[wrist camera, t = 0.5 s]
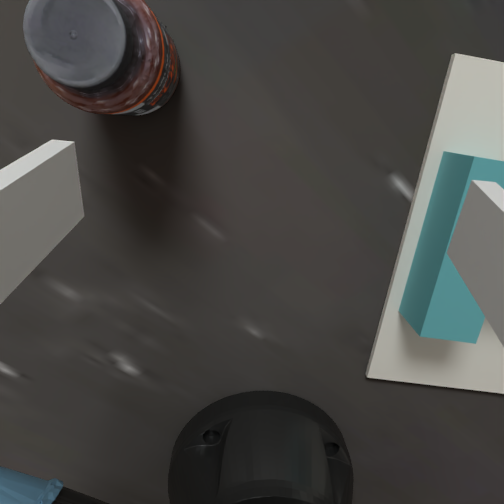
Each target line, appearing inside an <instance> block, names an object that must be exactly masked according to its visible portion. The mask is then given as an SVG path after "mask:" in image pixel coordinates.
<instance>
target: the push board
mask: <svg viewBox="0 0 504 504" xmlns="http://www.w3.org/2000/svg"><path fill="white" fill-rule="evenodd" d="M443 151H446V152H452V153H458V154H464V155H470V156H476V157H482V158H488V159H494V160H500V161H504V62H499V61H493V60H488V59H483V58H477V57H472V56H467V55H461V54H456V53H455V54H452V56H451V59H450V63H449V67H448V70H447V74H446V78H445V81H444V85H443V89H442V93H441V96H440V100H439V104H438V107H437V111H436V115H435V118H434V122H433V126H432V130H431V133H430V137H429V141H428V144H427V148H426V152H425V155H424V159H423V163H422V166H421V170H420V174H419V178H418V181H417V185H416V189H415V192H414V196H413V200H412V203H411V207H410V211H409V215H408V218H407V222H406V226H405V229H404V233H403V237H402V240H401V244H400V248H399V251H398V255H397V259H396V263H395V266H394V270H393V274H392V277H391V281H390V285H389V288H388V292H387V296H386V300H385V303H384V307H383V311H382V314H381V318H380V322H379V325H378V329H377V333H376V337H375V340H374V344H373V348H372V351H371V355H370V359H369V362H368V366H367V370H366V373H365V374H366V376H367V378H375V379H384V380H392V381H401V382H409V383H418V384H426V385H435V386H443V387H451V388H460V389H468V390H477V391H485V392H494V393H502V394H504V347H503V345H502V344H501V342H500V340H499V339H498V337H497V335H496V334H495V332H494V330H493V329H492V327H491V325H490V324H489V322H488V320H487V319H486V317H485V319H484V322H483V325H482V328H481V331H480V334H479V337H478V339H477V342H476V344H474V343H466V342H458V341H450V340H443V339H435V338H427V337H420V336H419V335H418V334H417V333H416V331H415V330H414V329H413V328H412V327H411V325H410V324H409V323H408V322H407V321H406V319H405V318H404V317H403V316H402V315H401V313H400V312H399V307H400V304H401V300H402V297H403V293H404V289H405V286H406V282H407V279H408V275H409V272H410V268H411V265H412V261H413V258H414V254H415V251H416V247H417V243H418V240H419V236H420V233H421V229H422V226H423V222H424V219H425V215H426V212H427V208H428V204H429V201H430V197H431V194H432V190H433V187H434V183H435V180H436V176H437V173H438V169H439V166H440V162H441V158H442V155H443Z"/></svg>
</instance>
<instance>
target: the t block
mask: <svg viewBox="0 0 504 504" xmlns="http://www.w3.org/2000/svg"><path fill="white" fill-rule="evenodd" d="M471 180H479V181H489V182H496V183H497V184H498V185H499V186H501V187H502V188H503V189H504V161H500V160H494V159H488V158H482V157H476V156H470V155H464V154H458V153H452V152H446V151H443V155H442V158H441V162H440V166H439V169H438V173H437V176H436V180H435V183H434V187H433V190H432V194H431V197H430V201H429V204H428V208H427V212H426V215H425V219H424V222H423V226H422V229H421V233H420V236H419V240H418V243H417V247H416V251H415V254H414V258H413V261H412V265H411V268H410V272H409V275H408V279H407V282H406V286H405V289H404V293H403V297H402V300H401V304H400V307H399V312H400V313H401V315H402V316H403V317H404V318H405V319H406V321H407V322H408V323H409V324H410V325H411V327H412V328H413V329H414V330H415V331H416V333H417V334H418V335H419V336H420V337H427V338H435V339H443V340H450V341H458V342H466V343H474V344H476V342H477V339H478V337H479V334H480V331H481V328H482V325H483V322H484V319H485V315H484V314H483V312H482V311H481V309H480V307H479V306H478V304H477V302H476V301H475V299H474V297H473V296H472V294H471V292H470V291H469V289H468V287H467V286H466V284H465V283H464V281H463V279H462V278H461V276H460V274H459V273H458V271H457V269H456V268H455V266H454V264H453V263H452V261H451V259H450V258H449V256H448V254H447V250H448V247H449V244H450V242H451V239H452V236H453V233H454V230H455V227H456V224H457V221H458V218H459V215H460V212H461V210H462V207H463V204H464V201H465V198H466V195H467V192H468V189H469V186H470V183H471Z"/></svg>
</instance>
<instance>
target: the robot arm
mask: <svg viewBox="0 0 504 504" xmlns="http://www.w3.org/2000/svg"><path fill="white" fill-rule="evenodd" d="M83 217H84V210H83V202H82V195H81V188H80V180H79V173H78V165H77V158H76V150H75V143H74V142H71V141H61V140H50V141H49V142H47V143H45V144H44V145H42V146H40V147H39V148H37V149H35V150H33V151H32V152H30V153H28V154H27V155H25V156H23V157H21V158H20V159H18V160H16V161H15V162H13V163H11V164H10V165H8V166H6V167H4V168H3V169H1V170H0V304H1V303H2V302H3V301H4V300H5V299H6V298H7V297H8V296H9V295H10V294H11V293H12V292H13V290H14V289H15V288H16V287H17V286H18V285H19V284H20V283H21V282H22V281H23V280H24V279H25V278H26V277H27V276H28V275H29V274H30V273H31V272H32V271H33V270H34V268H35V267H36V266H37V265H38V264H39V263H40V262H41V261H42V260H43V259H44V258H45V257H46V256H47V255H48V254H49V253H50V252H51V251H52V250H53V249H54V248H55V246H56V245H57V244H58V243H59V242H60V241H61V240H62V239H63V238H64V237H65V236H66V235H67V234H68V233H69V232H70V231H71V230H72V229H73V228H74V227H75V226H76V225H77V223H78V222H79V221H80V220H81V219H82V218H83ZM447 254H448V256H449V258H450V259H451V261H452V263H453V264H454V266H455V268H456V269H457V271H458V273H459V274H460V276H461V278H462V279H463V281H464V283H465V284H466V286H467V287H468V289H469V291H470V292H471V294H472V296H473V297H474V299H475V301H476V302H477V304H478V306H479V307H480V309H481V311H482V312H483V314H484V315H485V317H486V319H487V320H488V322H489V324H490V325H491V327H492V329H493V330H494V332H495V334H496V335H497V337H498V339H499V340H500V342H501V344H502V345H503V347H504V189H503V188H502V187H501V186H499V185H498V184H497V183H496V182H489V181H479V180H471V183H470V186H469V189H468V192H467V195H466V198H465V201H464V204H463V207H462V210H461V212H460V215H459V218H458V221H457V224H456V227H455V230H454V233H453V236H452V239H451V242H450V244H449V247H448V250H447ZM168 493H169V499H170V504H352V494H353V469H352V463H351V459H350V456H349V453H348V450H347V447H346V444H345V441H344V438H343V436H342V434H341V432H340V430H339V428H338V427H337V425H336V424H335V423H334V421H333V420H332V419H331V418H330V417H329V416H328V415H327V414H326V413H325V412H324V411H323V410H321V409H320V408H319V407H317V406H315V405H314V404H312V403H310V402H308V401H306V400H304V399H302V398H299V397H297V396H294V395H290V394H286V393H281V392H273V391H253V392H245V393H240V394H236V395H232V396H229V397H226V398H223V399H221V400H219V401H217V402H214V403H213V404H211V405H209V406H207V407H206V408H204V409H203V410H202V411H200V412H199V413H198V414H196V415H195V416H194V417H193V418H192V419H191V420H190V421H189V422H188V423H187V425H186V426H185V427H184V428H183V430H182V431H181V433H180V435H179V436H178V438H177V441H176V443H175V445H174V449H173V452H172V458H171V463H170V469H169V475H168ZM0 504H109V503H106V502H103V501H101V500H98V499H95V498H93V497H90V496H87V495H85V494H82V493H79V492H77V491H74V490H71V489H69V488H66V487H63V482H62V481H60V480H58V479H55V478H54V479H50V480H48V481H47V480H44V479H40V478H37V477H34V476H31V475H27V474H24V473H21V472H18V471H14V470H11V469H8V468H5V467H1V466H0Z"/></svg>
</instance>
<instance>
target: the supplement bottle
mask: <svg viewBox="0 0 504 504" xmlns="http://www.w3.org/2000/svg"><path fill="white" fill-rule="evenodd" d="M23 31H24V38H25V42H26V46H27V48H28V51H29V53H30V55H31V56H32V59H33V61H34V64H35V66H36V68H37V70H38V72H39V74H40V76H41V77H42V79H43V80H44V82H45V83H46V84H47V85H48V87H49V88H50V89H51V90H52V91H53V92H54V93H55V94H56V95H57V96H58V97H60V98H61V99H62V100H64V101H65V102H67V103H68V104H70V105H72V106H74V107H76V108H78V109H81V110H84V111H87V112H91V113H97V114H109V115H134V116H136V115H143V114H148V113H151V112H153V111H155V110H157V109H159V108H161V107H162V106H163V105H164V104H165V103H167V101H168V100H169V99H170V98H171V96H172V95H173V93H174V91H175V89H176V87H177V84H178V81H179V76H180V60H179V56H178V52H177V49H176V46H175V44H174V41H173V39H172V38H171V36H170V34H169V33H168V31H167V30H166V26H165V28H164V26H163V25H162V23H161V22H160V21H159V19H158V18H157V16H156V15H155V14H154V13H153V12H152V10H151V9H150V7H149V6H148V5H147V4H146V3H145V1H144V0H29V3H28V5H27V7H26V10H25V14H24V21H23Z"/></svg>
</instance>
